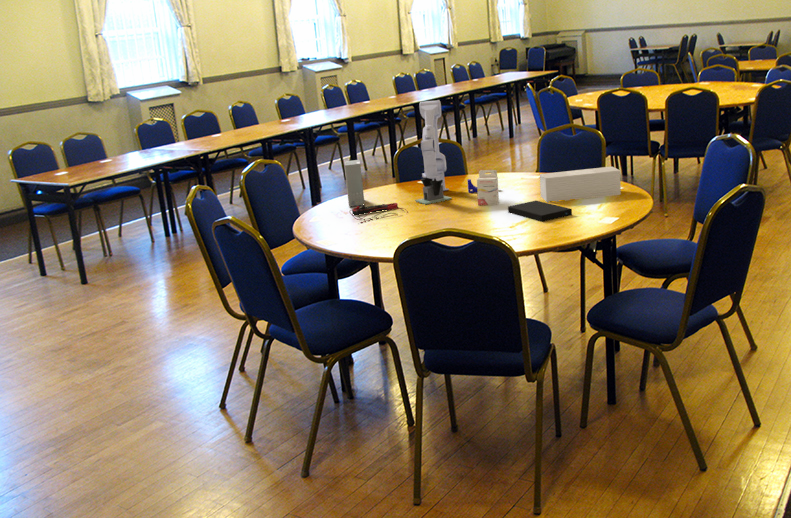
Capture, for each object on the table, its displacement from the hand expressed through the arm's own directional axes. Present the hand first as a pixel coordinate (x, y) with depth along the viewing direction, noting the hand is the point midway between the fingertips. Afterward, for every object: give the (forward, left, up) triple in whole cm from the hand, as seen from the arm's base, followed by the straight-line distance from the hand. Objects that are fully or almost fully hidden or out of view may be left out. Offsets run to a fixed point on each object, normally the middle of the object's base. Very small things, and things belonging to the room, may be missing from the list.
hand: (432, 194), depth 334 cm
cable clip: (0, +26, -3) cm, 26 cm away
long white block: (+46, +48, -3) cm, 66 cm away
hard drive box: (-26, -28, -3) cm, 38 cm away
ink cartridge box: (+27, +13, -3) cm, 30 cm away
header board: (0, 0, -3) cm, 3 cm away
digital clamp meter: (+5, -31, -4) cm, 32 cm away
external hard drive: (+59, +17, -4) cm, 61 cm away
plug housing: (0, 0, -2) cm, 2 cm away
